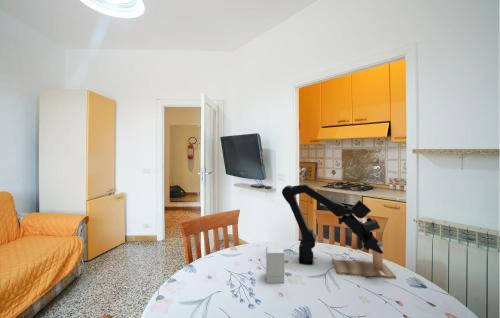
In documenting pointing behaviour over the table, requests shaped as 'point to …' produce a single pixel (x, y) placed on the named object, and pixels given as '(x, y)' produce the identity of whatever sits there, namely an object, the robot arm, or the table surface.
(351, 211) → the robot arm
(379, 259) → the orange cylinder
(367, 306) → the table surface
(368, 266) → the board
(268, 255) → the supplement box
